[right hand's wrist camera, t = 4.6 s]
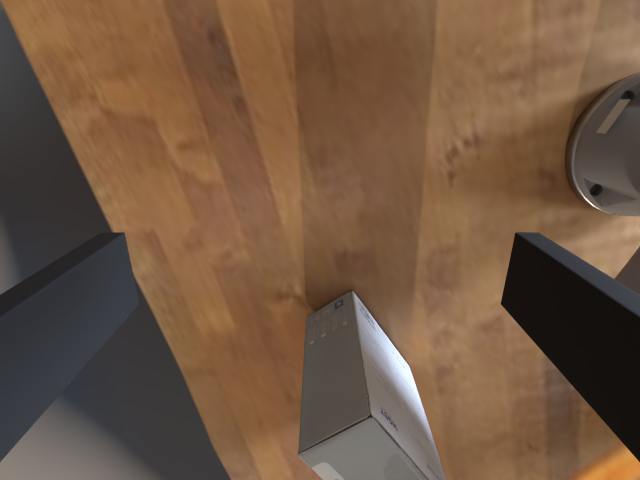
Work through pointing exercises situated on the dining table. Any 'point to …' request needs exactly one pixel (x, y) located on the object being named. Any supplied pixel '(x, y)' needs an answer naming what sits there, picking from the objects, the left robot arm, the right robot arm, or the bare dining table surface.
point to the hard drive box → (361, 402)
